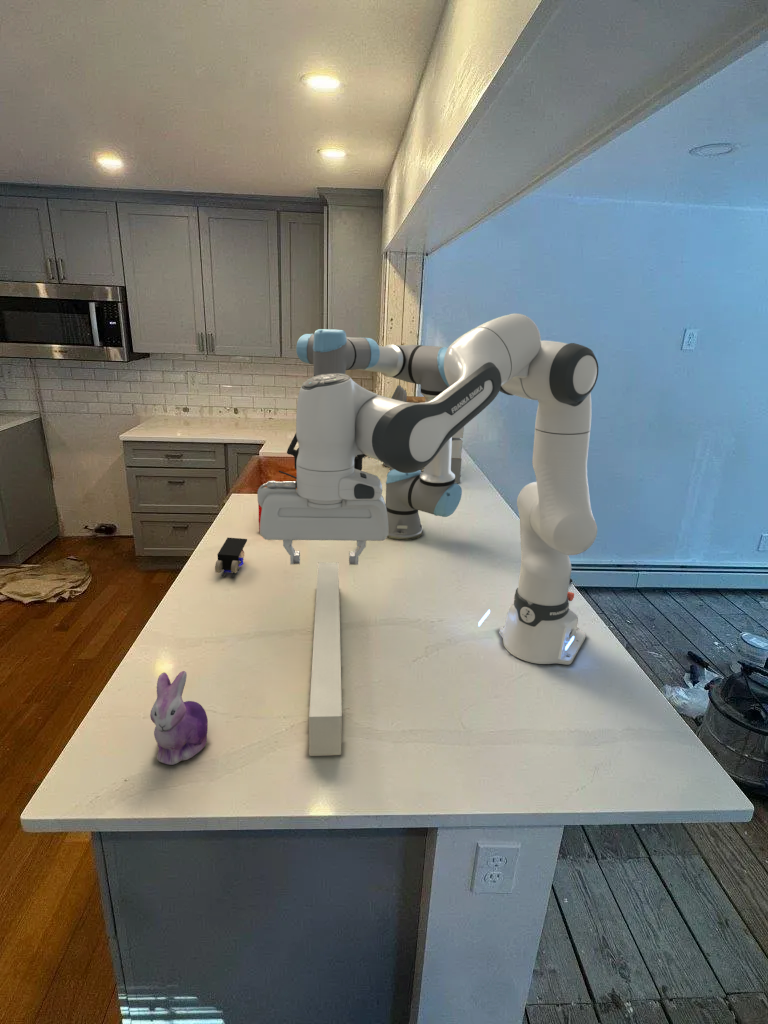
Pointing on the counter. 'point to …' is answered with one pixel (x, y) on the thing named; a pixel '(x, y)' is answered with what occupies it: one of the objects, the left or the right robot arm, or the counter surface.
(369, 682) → the counter surface
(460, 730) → the counter surface
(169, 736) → the figurine
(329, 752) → the post
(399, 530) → the left robot arm
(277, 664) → the counter surface
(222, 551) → the black wheeled rover
